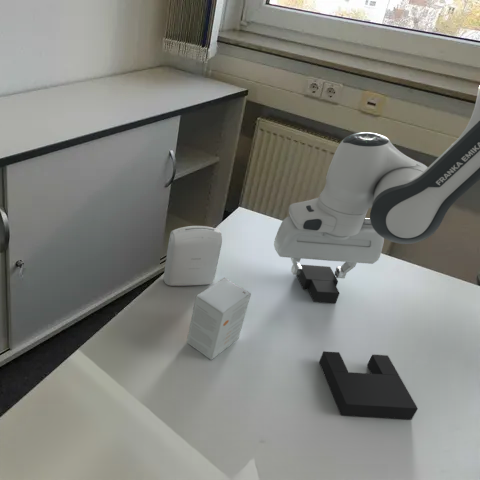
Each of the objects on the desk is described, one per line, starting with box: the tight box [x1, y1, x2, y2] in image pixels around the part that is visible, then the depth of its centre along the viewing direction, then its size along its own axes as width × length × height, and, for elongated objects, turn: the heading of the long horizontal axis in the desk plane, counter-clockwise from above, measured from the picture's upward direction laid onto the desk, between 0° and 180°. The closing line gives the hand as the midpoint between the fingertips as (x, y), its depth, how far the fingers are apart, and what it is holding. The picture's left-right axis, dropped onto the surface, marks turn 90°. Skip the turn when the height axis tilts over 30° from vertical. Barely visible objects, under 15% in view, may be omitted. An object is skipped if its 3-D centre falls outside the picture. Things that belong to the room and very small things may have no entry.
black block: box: [296, 264, 340, 304], centre depth 108 cm, size 9×6×3 cm
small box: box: [186, 277, 252, 361], centre depth 90 cm, size 8×6×10 cm
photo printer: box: [162, 225, 223, 287], centre depth 104 cm, size 10×4×12 cm, turn 99°
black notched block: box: [318, 350, 418, 421], centre depth 86 cm, size 11×11×3 cm
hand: (317, 274), depth 109 cm, fingers open, 8 cm apart
